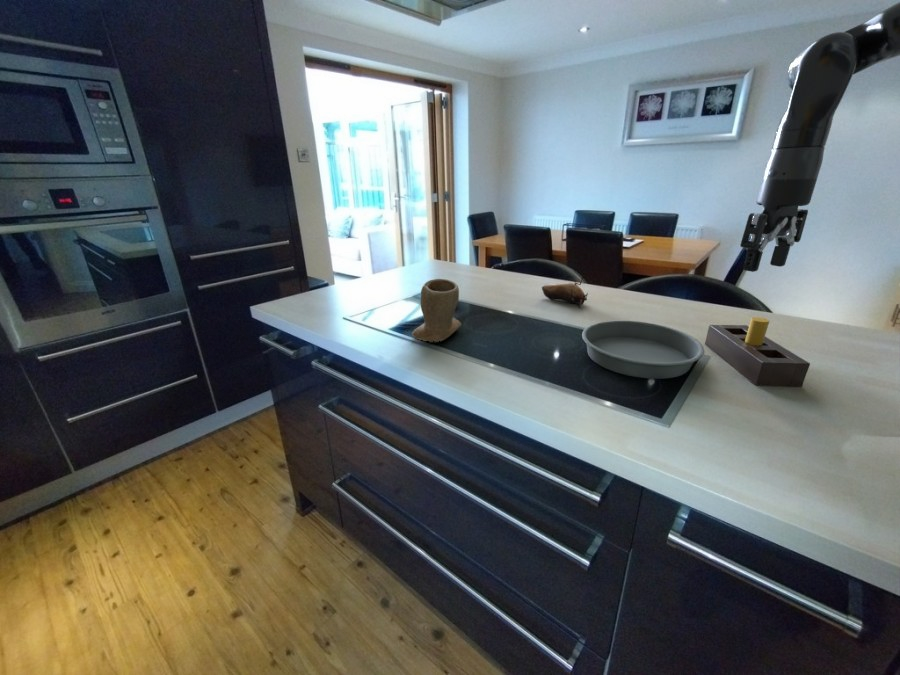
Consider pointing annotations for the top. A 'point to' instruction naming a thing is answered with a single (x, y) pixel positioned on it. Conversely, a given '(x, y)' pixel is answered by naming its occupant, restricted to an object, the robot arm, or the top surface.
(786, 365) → the stand
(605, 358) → the cake pan
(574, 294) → the vegetable
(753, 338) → the peg
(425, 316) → the stone cup
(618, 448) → the top surface
